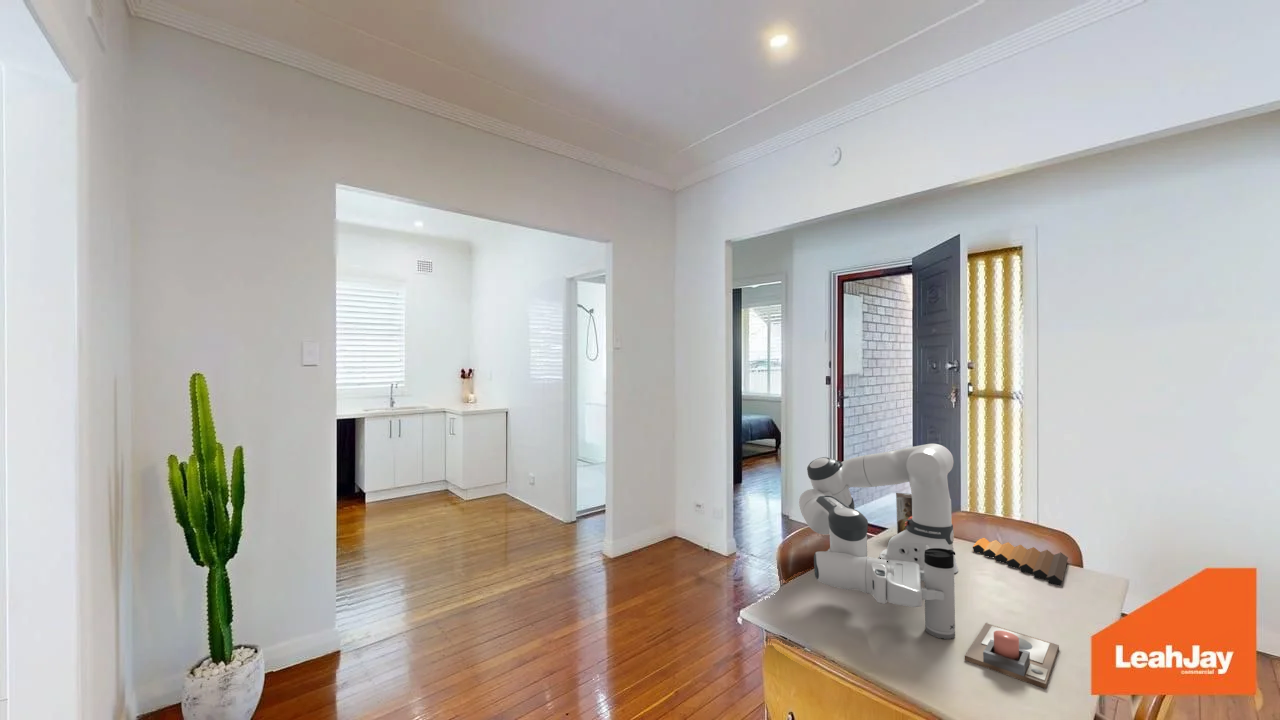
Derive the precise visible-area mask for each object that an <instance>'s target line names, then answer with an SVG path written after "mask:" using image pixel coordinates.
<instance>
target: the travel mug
mask: <svg viewBox="0 0 1280 720" xmlns="http://www.w3.org/2000/svg"><path fill="white" fill-rule="evenodd" d="M954 556H956V552H955V551H954V549H953V550H947V549H942V548H931V549H927V550H925V553H924V558H925V559H924V580H925V581H924V588H925V589H927V590H935V589H937V590H942V591H943V592H944V600H938V599H933V600H924V629H925V631H926V633H928V634H929V635H930V634H931V635H930V636H932V637H934V636H935V638H937V637H938V639H941V638H944V639H943V640H952V639H955V637H956V608H955V607H956V606H955V605H956V603H955V602H956V600H955V599H956V598H955V573H954V563H953V562H954ZM951 638H952V639H951Z"/></svg>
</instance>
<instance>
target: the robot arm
mask: <svg viewBox="0 0 1280 720" xmlns="http://www.w3.org/2000/svg"><path fill="white" fill-rule="evenodd" d="M953 467H954V456H953V454H952V453H951V451H950V450H949V449H948V448H947V447H945V446H944V445H941V444H938V443H927V444H921V445H916V446H915V445H914V446H910V447H905V448H900V449H895V450H890V451H889V450H888V451H884V452H877V453H872V454H871V453H870V454H865V455H859V456H855V457H851V458H848V459H846V460H843V461H840V460H839V459H837V460H836V459H833V458H831V457H827V456H823V457H819V458H816V459H814V460H812V461H810V463H809V464H808V466H807V467H806V468H807V469H806V470H807V475H808V478H809V479H810V483H811V486H812V488H811V489H810V488H809V489H807V490H805V491H803V492H802V494H801V495H800V496H799V502H798V503H799V504H798V505H799V510H800V513H801V515H802V517H803V520H804V522H805V523H806V524H807V526H808V528H810V529H811V530H812V531H813V532H815V533H816V534H818V535H819V534H820V535H829V548H828V549H827V550H824V551H820V550H819V551H816V552H815V553H814V555H813V567H814V577H815V579H816V580H817V582H820V583H822V584H824V585H827V586H830V587H832V588H833V587H834V588H838V589H843V590H848V591H850V590H851V591H852V590H857V591H859V592H863V593H865V594H869V595H871V597H872V596H873V598H874V599H875V601H876V602H877V603H879V604H883V605H885V604H887V603H890V604H893V605H897V606H902V607H903V606H904V607H910V608H920V607H922V605H923V600H924V601H925V600H933V599H938V600H944V592H943V591H942V590H937V589H935V590H927V589H925V587H922V582H925V580H924V559H925V558H924V553H925V550H927V549H931V548H942V549H947V550H953V551H954V545H953V543H954V539H955V535H954V533H955V532H954V531H955V530H954V525H953V524H952V499H951V494H950V489H949V481H948V474H949V473H950V472H951V471H952V470H953ZM908 482H909V487H910V492H911V493H910V494H912V516H911V517H909V518H908V520H907V521H906V522H905V526H906V528H907V529H906V530H904V531H902V532H900V533H898V534H897V533H896V534H895V535H893V536H892V537H891V538H890V539H889V541H888V543H887V548H885V549H883V550H881V551H880V553H879V558H877V557H871V556H868V527H869V522H868V519H867V518H866V516H865V515H864V514H863V513H862V512H860V511H859V510H857V509H855V508H856V507H855V501H854V498H853V497H852V494H851V490H850V488H859V489H860V488H863V489H864V488H875V487H885V486H892V485H893V486H894V485H901V484H903V483H908ZM955 556H956V555H954V562H953V563H954V574H957V573H958V572H959V568H958V565H957V560H956V558H955ZM880 558H882V559H880ZM887 561H888V562H887Z"/></svg>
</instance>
